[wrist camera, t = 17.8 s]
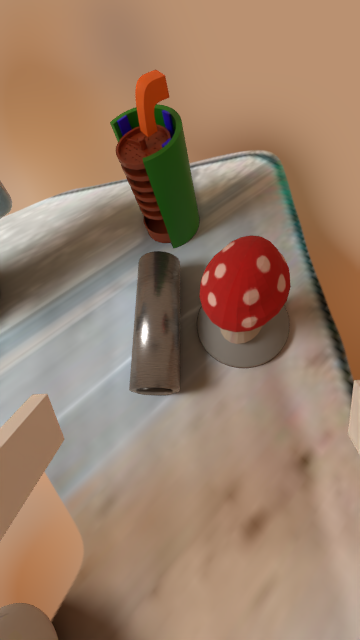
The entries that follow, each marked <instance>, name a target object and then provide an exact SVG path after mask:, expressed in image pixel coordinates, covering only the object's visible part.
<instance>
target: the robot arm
mask: <svg viewBox="0 0 360 640" xmlns="http://www.w3.org/2000/svg"><path fill="white" fill-rule="evenodd" d="M11 208H12V200H11V197H10V195H9V194H8V192H7V191H6V189H5V188H4V186H3V185H2V183H1V181H0V219H1V218H2V217H3V216H5V215H6V214H7V213H9V212H10V210H11ZM348 436H349V437H350V439H351V441H352V442H353V444H354V446H355V448H356V449H357V451H358V453H359V454H360V380H354V386H353V394H352V403H351V411H350V419H349V428H348ZM63 441H64V437H63V434H62V431H61V429H60V426H59V423H58V421H57V418H56V416H55V413H54V410H53V408H52V405H51V402H50V400H49V397H48V394H35V395H32V396H31V397H30V398H29V399H28V400H27V401H26V402H25V403H24V404H23V405H22V406H21V407H20V408H19V409H18V410H17V411H16V412H15V413H14V415H13V416H12V417H11V418H10V419H9V420H8V421H7V422H6V423H5V424H4V425H3V426H2V427H1V428H0V541H1V539H2V537H3V536H4V534H5V533H6V531H7V530H8V528H9V527H10V525H11V523H12V521H13V520H14V518H15V517H16V515H17V514H18V512H19V511H20V509H21V507H22V506H23V504H24V503H25V501H26V500H27V498H28V496H29V495H30V493H31V492H32V490H33V488H34V487H35V485H36V484H37V482H38V481H39V479H40V477H41V476H42V474H43V472H44V471H45V469H46V468H47V466H48V465H49V463H50V461H51V460H52V458H53V457H54V455H55V454H56V452H57V450H58V449H59V447H60V446H61V444H62V442H63Z"/></svg>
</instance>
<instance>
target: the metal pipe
mask: <svg viewBox="0 0 360 640" xmlns="http://www.w3.org/2000/svg"><path fill="white" fill-rule="evenodd" d="M129 390H130V391H132V392H135V393H138V394H143V395H169V394H173V393H177V392H179V391H180V261H179V259H178V258H177V257H176V256H174V255H172V254H170V253H167V252H160V251H156V252H150V253H147V254H145V255H143V256H142V257H141V258H140V260H139V266H138V280H137V294H136V307H135V321H134V334H133V348H132V361H131V375H130V388H129Z"/></svg>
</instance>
